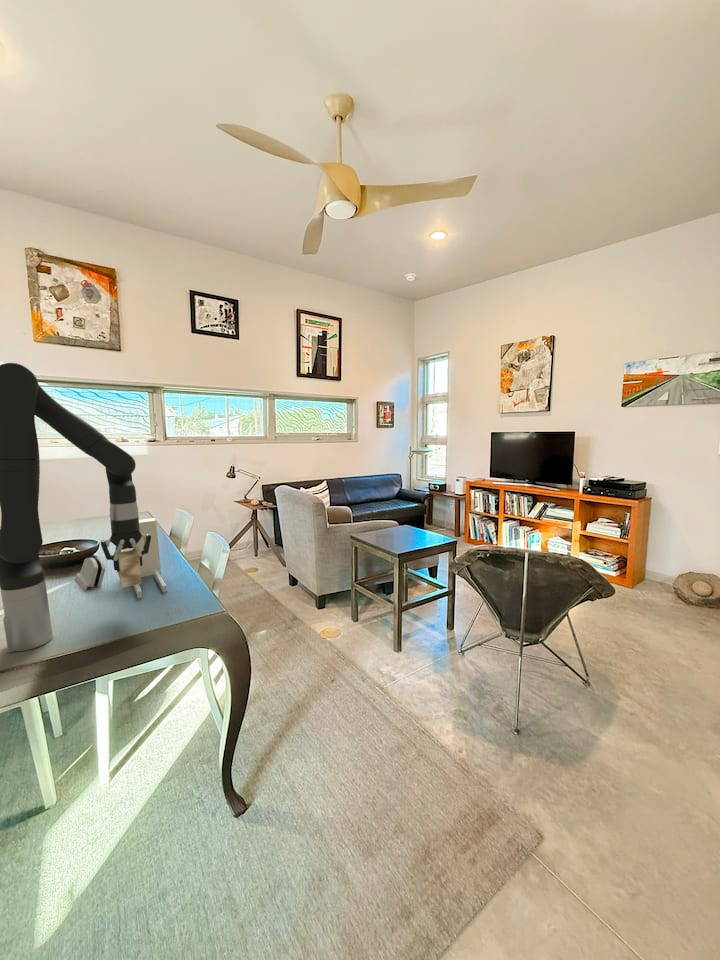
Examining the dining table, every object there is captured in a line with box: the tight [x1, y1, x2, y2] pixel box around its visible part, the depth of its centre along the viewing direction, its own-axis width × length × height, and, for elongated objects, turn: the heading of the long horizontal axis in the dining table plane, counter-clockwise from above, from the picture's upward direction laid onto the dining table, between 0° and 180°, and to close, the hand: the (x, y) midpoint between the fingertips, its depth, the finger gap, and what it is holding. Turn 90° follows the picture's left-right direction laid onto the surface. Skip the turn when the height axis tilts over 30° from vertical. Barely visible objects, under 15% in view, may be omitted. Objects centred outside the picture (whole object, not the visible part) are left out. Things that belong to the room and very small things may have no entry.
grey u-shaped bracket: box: [132, 517, 168, 599], centre depth 145 cm, size 12×26×22 cm, turn 36°
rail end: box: [117, 548, 142, 588], centre depth 122 cm, size 5×15×9 cm, turn 36°
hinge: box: [74, 557, 106, 591], centre depth 148 cm, size 17×5×10 cm, turn 47°
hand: (128, 569), depth 122 cm, fingers closed on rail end, 5 cm apart
